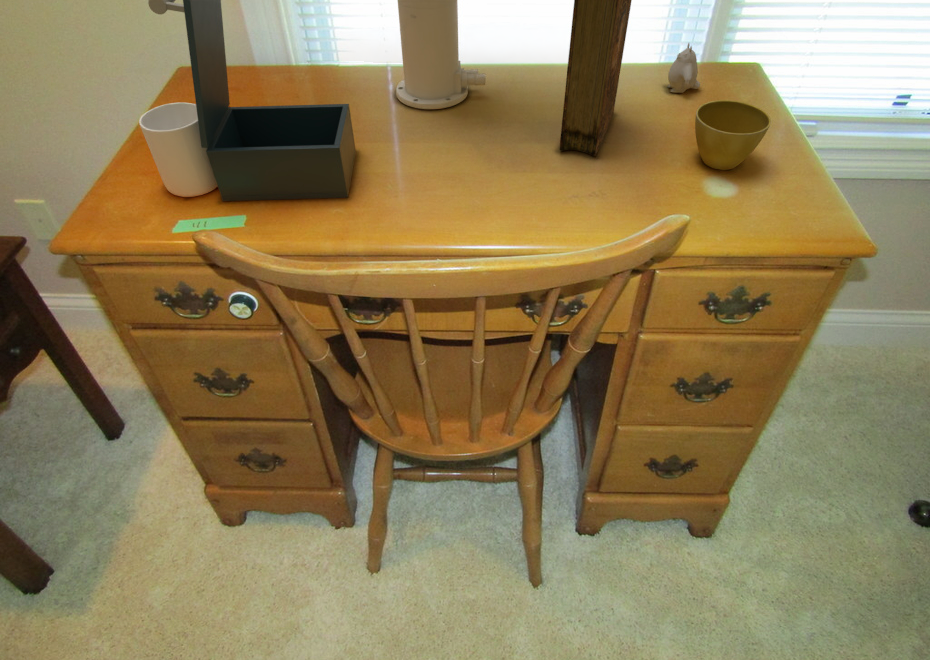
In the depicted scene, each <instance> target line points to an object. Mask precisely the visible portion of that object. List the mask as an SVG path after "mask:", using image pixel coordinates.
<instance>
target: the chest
mask: <svg viewBox="0 0 930 660" xmlns="http://www.w3.org/2000/svg"><path fill="white" fill-rule="evenodd" d="M206 153H207V156H208V159H209V162H210V165H211V168H212V171H213V174H214V177H215V180H216V183H217V186H218V187H217V188H218V192H219V194H220V198H221V201H222V202H244V201H279V200H310V199H311V200H313V199H346V198H347V199H348V198H349V194H350V188H351V183H352V177H353V173H354V172H353V171H354V166H355V160H356V155H357V149H356V143H355V136H354V130H353V123H352V116H351V109H350V103H327V104H326V103H325V104H292V105H291V104H289V105H255V106H254V105H253V106H252V105H251V106H249V105H248V106H229V107H228V109H227V111H226V113H225V115H224V117H223V119H222V121H221V123H220V125H219V127H218V129H217V131H216V133H215V135H214V137H213V139H212V141H211V143H210V145H209V147H208V148H207V150H206Z"/></svg>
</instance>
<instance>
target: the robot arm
mask: <svg viewBox="0 0 930 660" xmlns="http://www.w3.org/2000/svg"><path fill="white" fill-rule="evenodd" d="M458 5H459V4H458V0H397V10H398V11H397V12H398V21H399V33H400V34H399V35H400V47H401V58H402V69H403V79H402V80H401V81H399V83H398V84H397V85H396V88H395V93H396V98H397V99H398V101H400V102H401V103H402V104H404V105H406V106H408V107H410V108H415V109H419V110H440V109H441V110H442V109H445V108H450V107H453V106H456V105H458V104H460V103H462V102H463V101H464V100H465V99H466V98H467V96H468V94H469V86H475V87H476V86H477V87H479V86H486V73H479V71H478V70H479V69H478V68H475V69H474V68H472V69H471V68H470V69H465V67H461V66H462V65H461V60H459V59H460V58H459V55H460V54H459V20H458V19H459V14H458V13H459V12H458V10H459V8H458Z"/></svg>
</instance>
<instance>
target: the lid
mask: <svg viewBox="0 0 930 660" xmlns="http://www.w3.org/2000/svg"><path fill="white" fill-rule="evenodd" d="M148 7H149V9H150V10H151V11H152V12H153V13H154V14H156V15H164V14H166V12H167V11H173V12H178V13H184V20H185V27H186V37H187V44H188V45H187V46H188V53H189V59H190V68H191V75H192V83H193V92H194V99H195V104H196V108H197V116H198V124H199V132H200V140H201V147H202V148H208V147H209V145H210V143H211V141H212V139H213V137H214V135H215V133H216V131H217V129H218V127H219V125H220V123H221V121H222V119H223V117H224V115H225V113H226V111H227V109H228V107H230V105H231V103H230V101H231V100H230V92H229V91H230V90H229V80H228V68H227V67H228V66H227V58H226V57H227V56H226V45H225V33H224V22H223V10H222V0H182V3H178V2H176V0H148Z"/></svg>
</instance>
